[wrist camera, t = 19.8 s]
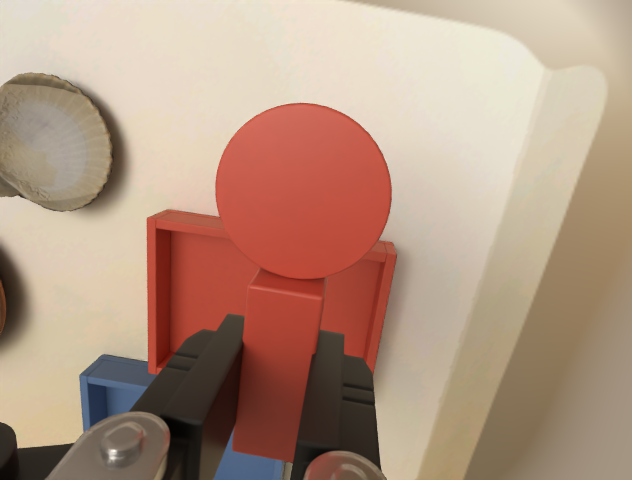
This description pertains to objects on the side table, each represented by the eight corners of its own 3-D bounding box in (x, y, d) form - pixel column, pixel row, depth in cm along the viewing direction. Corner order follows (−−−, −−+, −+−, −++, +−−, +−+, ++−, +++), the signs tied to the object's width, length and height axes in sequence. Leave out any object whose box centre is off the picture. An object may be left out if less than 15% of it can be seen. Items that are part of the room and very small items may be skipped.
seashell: (143, 184, 26) (95, 61, 22) (129, 201, 24) (71, 65, 20) (27, 204, 26) (-42, 84, 22) (0, 223, 23) (-85, 90, 20)
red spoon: (236, 94, 8) (209, 85, 6) (402, 119, 8) (415, 116, 6) (213, 398, 10) (189, 444, 9) (340, 421, 10) (338, 473, 9)
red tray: (392, 242, 24) (397, 254, 21) (364, 385, 27) (365, 411, 25) (166, 208, 25) (146, 217, 22) (166, 352, 28) (147, 373, 26)
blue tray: (294, 386, 28) (289, 411, 25) (280, 497, 31) (274, 529, 29) (102, 354, 29) (78, 374, 26) (108, 464, 32) (87, 493, 29)
